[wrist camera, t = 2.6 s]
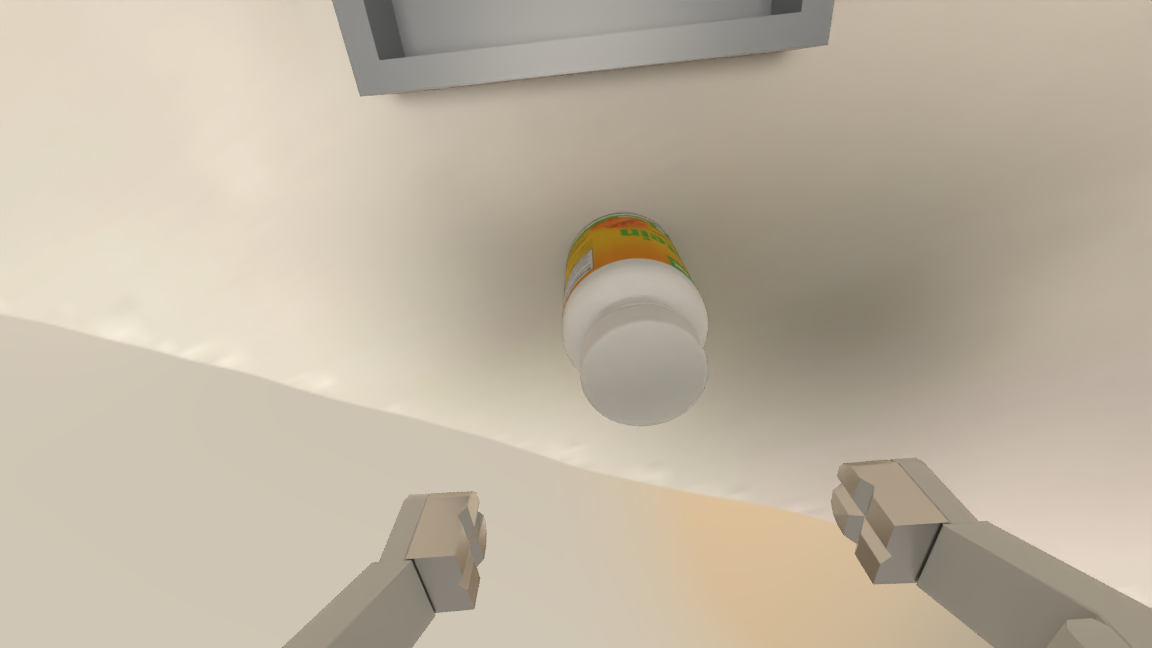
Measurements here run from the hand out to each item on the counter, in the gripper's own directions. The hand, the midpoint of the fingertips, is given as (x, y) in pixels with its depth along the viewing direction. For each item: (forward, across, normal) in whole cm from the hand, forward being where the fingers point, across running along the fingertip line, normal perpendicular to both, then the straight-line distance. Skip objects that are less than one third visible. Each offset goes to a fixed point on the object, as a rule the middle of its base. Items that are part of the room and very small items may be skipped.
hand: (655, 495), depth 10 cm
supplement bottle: (+14, 0, 0) cm, 14 cm away
